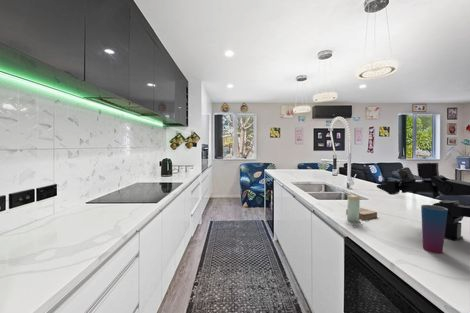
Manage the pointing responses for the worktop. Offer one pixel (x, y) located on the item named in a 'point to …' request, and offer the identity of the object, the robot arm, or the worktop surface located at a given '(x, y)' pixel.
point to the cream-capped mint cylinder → (353, 208)
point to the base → (366, 214)
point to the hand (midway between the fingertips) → (382, 185)
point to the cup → (433, 227)
